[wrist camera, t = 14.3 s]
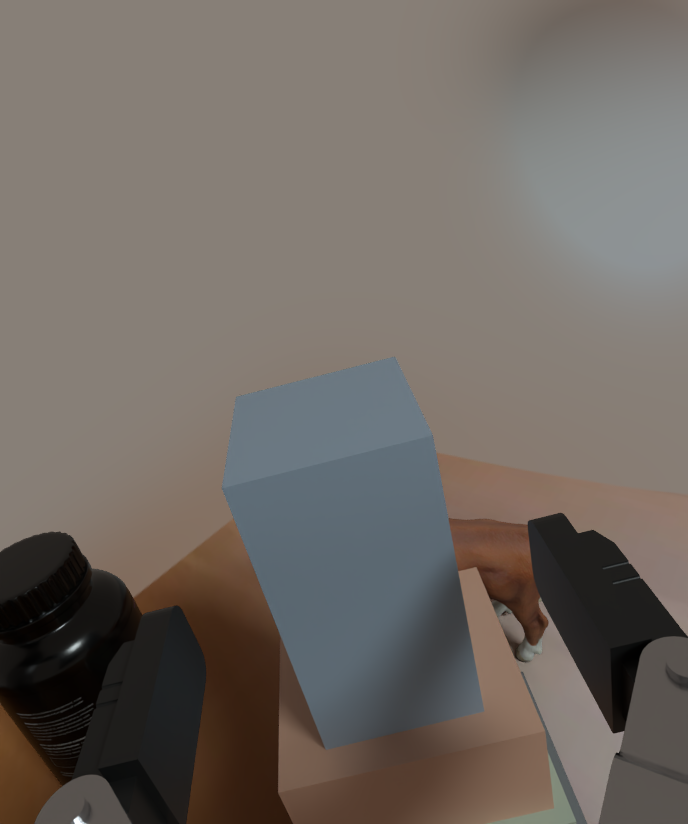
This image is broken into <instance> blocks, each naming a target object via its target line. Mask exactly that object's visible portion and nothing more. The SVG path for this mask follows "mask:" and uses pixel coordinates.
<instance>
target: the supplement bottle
mask: <svg viewBox="0 0 688 824" xmlns="http://www.w3.org/2000/svg"><path fill="white" fill-rule="evenodd" d="M141 617H142V614H141V612H140V610H139V608H138V606H137V604H136V602H135V601H134V599H133V597H132V595H131V593H130V592H129V590H128V588H127V587H126V585H125V584H124V583H123V581H121V579H119V578H118V577H117V576H115V575H113V574H111V573H109V572H106V571H103V570H99V569H92V568H91V565H90V564H89V562H88V560H87V559H86V557H85V556H84V555H82V553H81V551H80V549H79V548H78V546H77V544H76V542H75V541H74V539H73V538H72V537H71V536H70V535H67V534H66V533H61V532H49V533H42V534H39V535H34V536H32V537H29V538H26V539H23V540H21V541H19V542H17V543H14V544H13V545H11V546H10V547H8V548H5V549H4V550H2V551H1V552H0V704H1V705H2V706H3V708H4V709H5V710H6V712H7V713H8V714H9V716H10V717H11V718H12V720H13V721H14V722H15V724H16V725H17V726H18V728H19V729H20V730H21V732H22V733H23V734H24V736H25V737H26V738H27V740H28V741H29V742H30V744H31V745H32V746H33V748H34V749H35V750H36V751H37V753H38V754H39V755H40V757H41V758H42V759H43V761H44V762H45V763H46V765H47V766H48V767H49V769H50V770H51V771H52V773H53V774H54V775H55V776H56V778H57V779H58V780H59V781H60V783H61V784H62V785H63V786H64V785H65V784H66V783H68V782H70V781H71V779H72V777H73V774H74V771H75V768H76V765H77V761H78V758H79V755H80V752H81V749H82V746H83V743H84V740H85V736H86V733H87V730H88V727H89V724H90V721H91V718H92V715H93V711H94V709H96V702H97V699H98V696H99V693H100V691H101V690H102V683H103V680H104V677H105V674H106V671H107V668H108V665H109V663H110V662H111V660H112V659H113V657H114V656H115V655H116V653H117V652H118V650H119V649H120V647H121V646H122V645H123V643H125V642H129V641H133V640H135V637H136V634H137V630H138V627H139V623H140V620H141Z"/></svg>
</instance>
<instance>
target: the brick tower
mask: <svg viewBox="0 0 688 824" xmlns="http://www.w3.org/2000/svg"><path fill="white" fill-rule="evenodd" d="M458 573H459V578H460V584H461V589H462V594H463V600H464V605H465V610H466V616H467V621H468V626H469V632H470V637H471V642H472V648H473V653H474V659H475V664H476V669H477V675H478V680H479V685H480V691H481V696H482V701H483V707H484V712H480V713H476V714H472V715H468V716H464V717H460V718H456V719H452V720H447V721H443V722H439V723H435V724H431V725H427V726H423V727H419V728H415V729H410V730H406V731H402V732H398V733H394V734H390V735H386V736H382V737H377V738H373V739H369V740H365V741H361V742H357V743H353V744H349V745H345V746H340V747H336V748H332V749H328V750H326V749H325V747H324V744H323V742H322V739H321V736H320V734H319V731H318V729H317V726H316V724H315V721H314V719H313V716H312V714H311V711H310V709H309V706H308V704H307V701H306V699H305V696H304V694H303V691H302V689H301V686H300V684H299V681H298V679H297V676H296V674H295V671H294V668H293V666H292V663H291V661H290V658H289V656H288V653H287V651H286V648H285V646H284V643H283V641H282V638H281V636H280V683H279V761H278V794H279V796H280V798H281V800H282V802H283V804H284V806H285V808H286V810H287V812H288V814H289V816H290V818H291V820H292V823H293V824H587V822H586V820H585V818H584V815H583V813H582V811H581V808H580V806H579V803H578V801H577V799H576V796H575V794H574V792H573V789H572V787H571V785H570V782H569V780H568V777H567V775H566V773H565V770H564V768H563V766H562V763H561V761H560V759H559V756H558V754H557V752H556V749H555V747H554V744H553V742H552V740H551V737H550V735H549V733H548V730H547V728H546V726H545V723H544V721H543V719H542V716H541V714H540V711H539V709H538V707H537V704H536V702H535V700H534V697H533V695H532V693H531V690H530V688H529V686H528V683H527V681H526V678H525V676H524V674H523V672H520V670H519V667H518V665H517V663H516V660H515V658H514V656H513V653H512V651H511V648H510V646H509V644H508V641H507V639H506V636H505V634H504V632H503V629H502V627H501V625H500V622H499V620H498V617H497V615H496V613H495V610H494V608H493V605H492V603H491V601H490V598H489V596H488V594H487V591H486V589H485V586H484V584H483V582H482V579H481V577H480V575H479V572H478V570H477V567H474V568H470V569H466V570H462V571H458Z"/></svg>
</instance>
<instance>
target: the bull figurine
mask: <svg viewBox="0 0 688 824" xmlns="http://www.w3.org/2000/svg"><path fill="white" fill-rule="evenodd" d="M448 519H449V525H450V530H451V536H452V541H453V546H454V552H455V557H456V562H457V568H458V571H462V570H466V569H470V568H474V567H477V570H478V572H479V575H480V577H481V579H482V582H483V584H484V586H485V589H486V591H487V594H488V596H489V598H490V599H494V600H495V601H492V602H491V603H492V605H493V608H494V610H495V613H496V615H497V617H499V616H500V615H501V614H502V613H503V612H504V611H506V612H507V613H508V614H511V613H513V614H514V616H515V617H516V618H517V620H518V621H519V622H520V623H521V625H522V627H523V629H524V632H525V637H524V640H523V642H522V643H521V644H520V645H519V646H518V648H517V650H516V657H517V658H518V659H519V660H521V661H524V662H529V661H531V660H532V658H533V657H534V653H536V654H541V652H542V636H543V633H544V630H545V628H546V627H547V626H548V620H547V618H546V617H545V616H544V615H543V613H542V612H541V610H540V608H539V604H538V603H539V602H541V601H542V599H541V597H540V595H539V593H538V590H537V587H536V584H535V580H534V576H533V571H532V562H531V553H530V544H529V535H528V525H523V524H511V523H505V522H499V521H495V520H490V519H475V520H459V519H450V518H448Z"/></svg>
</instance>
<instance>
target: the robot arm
mask: <svg viewBox="0 0 688 824" xmlns="http://www.w3.org/2000/svg"><path fill="white" fill-rule="evenodd" d="M528 535H529V544H530V553H531V562H532V571H533V576H534V580H535V584H536V587H537V590H538V593H539V595H540V597H541V599H542V601H543V603H544V605H545V607H546V609H547V611H548V613H549V615H550V616H551V618H552V620H553V622H554V624H555V626H556V628H557V629H558V631H559V633H560V635H561V637H562V639H563V641H564V643H565V644H566V646H567V648H568V650H569V652H570V654H571V656H572V658H573V659H574V661H575V663H576V665H577V667H578V669H579V671H580V673H581V674H582V676H583V678H584V680H585V682H586V684H587V686H588V687H589V689H590V691H591V693H592V695H593V697H594V699H595V701H596V702H597V704H598V706H599V708H600V710H601V712H602V714H603V716H604V717H605V719H606V721H607V723H608V725H609V727H610V729H611V731H612V732H613V733H618V732H622V731H624V736H623V740H622V745H621V749H620V752H619V753H616V754H615V756H614V759H613V762H612V766H611V770H610V774H609V779H608V783H607V788H606V793H605V797H604V802H603V806H602V811H601V815H600V820H599V824H688V636H687V635H686V634H685V633H684V632H683V630H682V629H681V628H680V627H679V625H678V624H677V623H676V621H675V620H674V619H673V618H672V616H671V615H670V614H669V612H668V611H667V610H666V609H665V607H664V606H663V605H662V603H661V602H660V601H659V600H658V598H657V597H656V596H655V594H654V593H653V592H652V591H651V589H650V588H649V587H648V585H647V584H646V583H645V582H644V580H643V579H641V578H640V576H639V574H638V573H637V571H636V570H635V569H634V567H633V566H632V565H631V564H629V562H628V560H627V558H626V557H625V556H624V555H623V553H622V552H621V551H620V549H619V548H618V547H617V546H616V544H615V543H614V542H612V541H611V540H609V539H607V538H606V537H604V536H602V535H601V534H599V533H598V532H596V531H594V530H590V531H586V532H582V533H577V532H576V530H575V529H574V527H573V526H572V525H571V523H570V522H569V520H568V519H567V518H566V516H565V515H564V514H563V513H558V514H554V515H550V516H546V517H542V518H538V519H533V520H529V521H528ZM205 683H206V665H205V659H204V655H203V652H202V650H201V648H200V646H199V644H198V642H197V640H196V638H195V636H194V633H193V631H192V629H191V627H190V625H189V623H188V621H187V619H186V617H185V615H184V613H183V611H182V609H181V608H180V607H179V606H173V607H168V608H164V609H160V610H156V611H152V612H148V613H145V614H143V615H142V617H141V620H140V623H139V627H138V630H137V634H136V637H135V640H133V641H129V642H125V643H123V645H122V646H121V647H120V649H119V650H118V652H117V653H116V655H115V656H114V657H113V659H112V660H111V662H110V663H109V665H108V668H107V671H106V674H105V677H104V680H103V683H102V690H101V691H100V693H99V696H98V699H97V702H96V709H94V711H93V715H92V718H91V721H90V724H89V727H88V730H87V733H86V736H85V740H84V743H83V746H82V749H81V752H80V755H79V758H78V761H77V765H76V768H75V771H74V774H73V777H72V779H71V781H70V782H68V783H66V784H65V785H64V786H62V787H61V788H60V789H59V790H58V791H56V792H55V793H54V794H53V795H52V796H51V797H50V799H49V800H48V801H47V802H46V804H45V805H44V806H43V808H42V809H41V811H40V813H39V814H38V816H37V819H36V821H35V823H34V824H186V820H187V813H188V806H189V798H190V791H191V784H192V777H193V770H194V762H195V755H196V748H197V741H198V733H199V726H200V719H201V712H202V705H203V697H204V690H205Z"/></svg>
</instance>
